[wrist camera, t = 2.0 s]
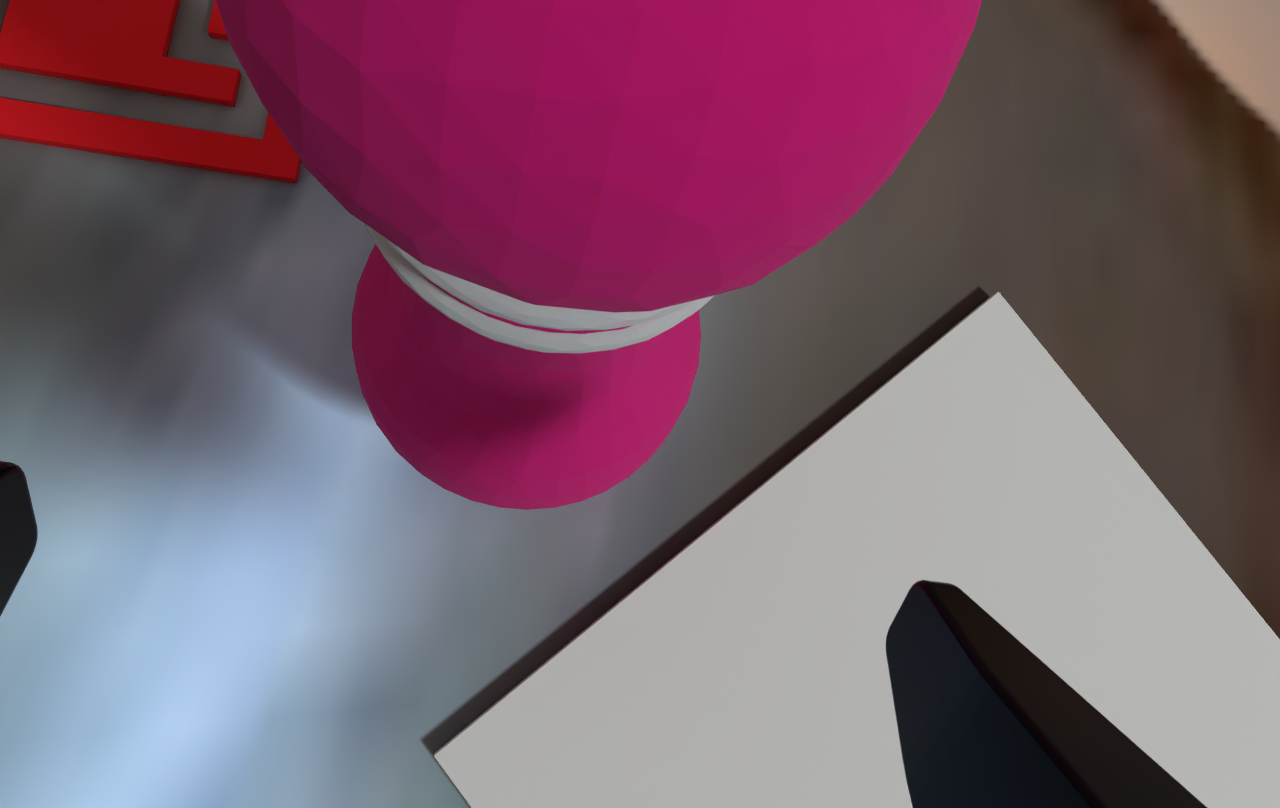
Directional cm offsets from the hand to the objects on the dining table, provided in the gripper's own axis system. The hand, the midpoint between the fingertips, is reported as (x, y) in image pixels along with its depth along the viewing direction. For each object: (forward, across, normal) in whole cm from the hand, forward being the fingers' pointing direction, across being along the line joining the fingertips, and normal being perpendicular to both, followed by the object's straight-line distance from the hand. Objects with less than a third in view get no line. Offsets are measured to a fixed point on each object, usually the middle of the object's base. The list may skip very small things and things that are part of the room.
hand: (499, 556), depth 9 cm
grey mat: (+6, -13, +12) cm, 18 cm away
